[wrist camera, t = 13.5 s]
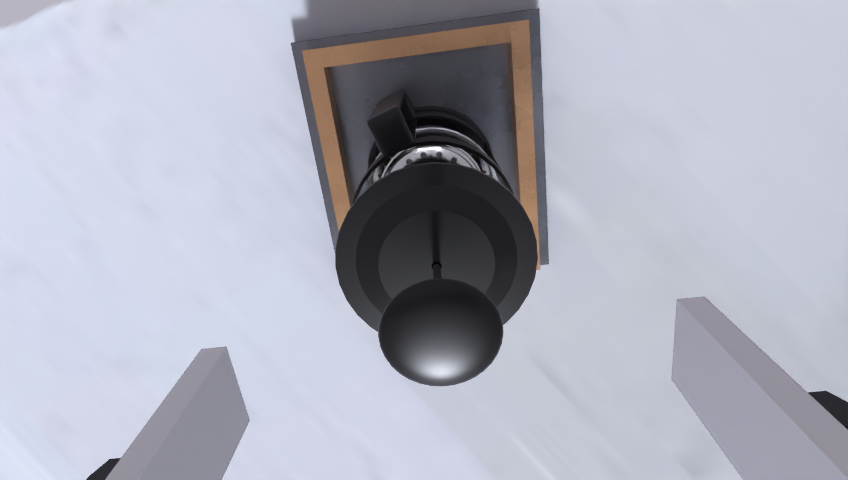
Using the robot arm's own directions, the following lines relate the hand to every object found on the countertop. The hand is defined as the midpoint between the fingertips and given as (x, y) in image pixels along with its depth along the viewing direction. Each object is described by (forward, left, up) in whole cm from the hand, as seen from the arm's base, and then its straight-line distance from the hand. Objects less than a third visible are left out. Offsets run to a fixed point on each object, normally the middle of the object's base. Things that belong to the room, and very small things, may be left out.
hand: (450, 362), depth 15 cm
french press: (0, 0, -25) cm, 25 cm away
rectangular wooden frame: (0, 0, -26) cm, 26 cm away
